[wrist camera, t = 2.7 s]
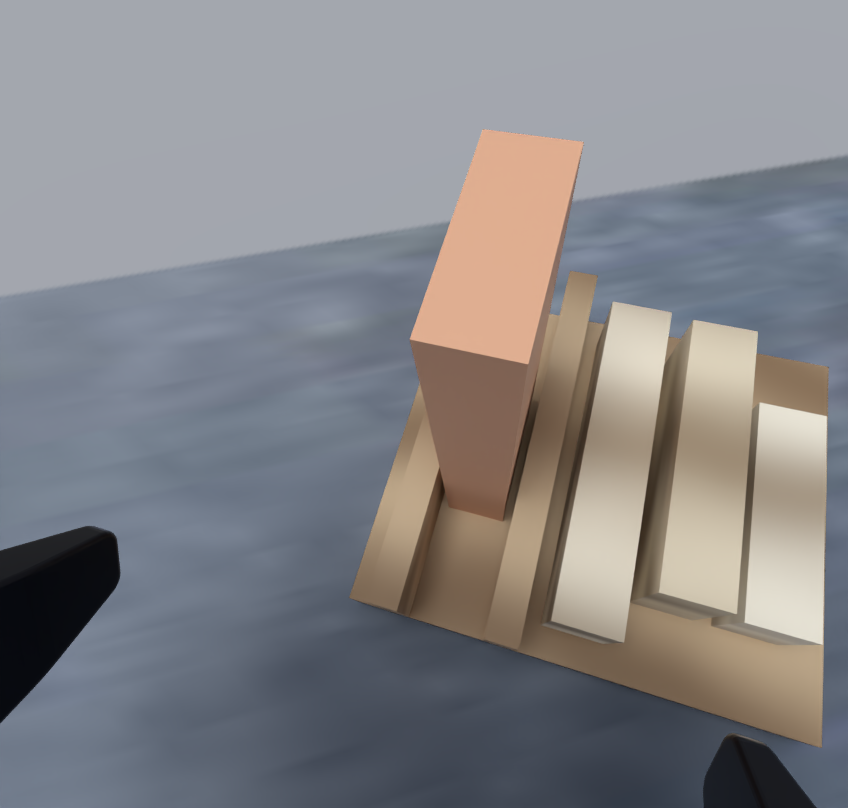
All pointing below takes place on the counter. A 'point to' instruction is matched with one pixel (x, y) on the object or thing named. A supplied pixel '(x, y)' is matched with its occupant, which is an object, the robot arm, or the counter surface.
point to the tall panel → (492, 311)
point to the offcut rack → (637, 520)
